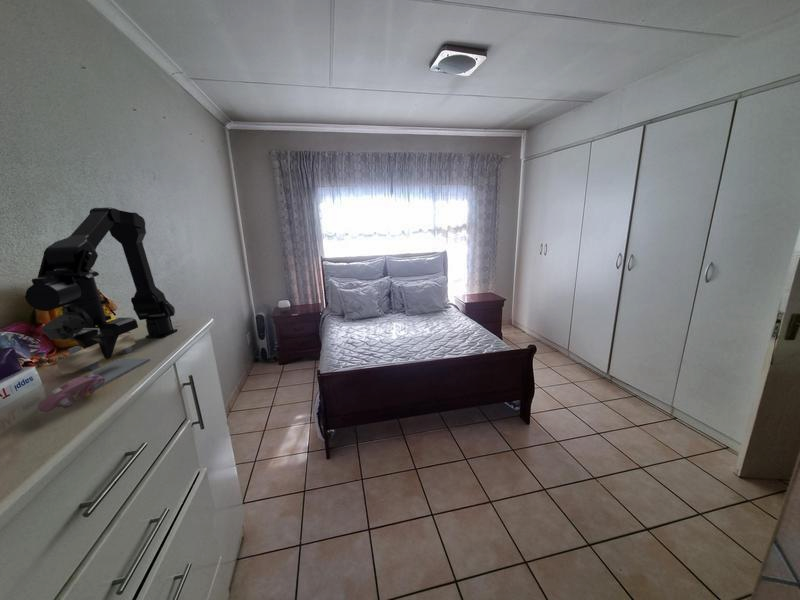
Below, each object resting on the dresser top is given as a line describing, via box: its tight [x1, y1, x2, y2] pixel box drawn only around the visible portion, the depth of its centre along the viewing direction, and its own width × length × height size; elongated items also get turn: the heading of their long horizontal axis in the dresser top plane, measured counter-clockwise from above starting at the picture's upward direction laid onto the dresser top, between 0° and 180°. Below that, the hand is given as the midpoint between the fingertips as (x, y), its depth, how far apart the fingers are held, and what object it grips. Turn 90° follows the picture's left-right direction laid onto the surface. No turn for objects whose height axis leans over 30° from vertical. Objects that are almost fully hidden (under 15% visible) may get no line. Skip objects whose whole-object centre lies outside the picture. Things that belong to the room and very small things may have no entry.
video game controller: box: [37, 372, 105, 413], centre depth 66 cm, size 10×5×7 cm
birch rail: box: [55, 333, 136, 374], centre depth 78 cm, size 16×3×3 cm, turn 175°
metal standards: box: [67, 331, 134, 371], centre depth 87 cm, size 12×6×6 cm, turn 175°
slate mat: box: [58, 357, 151, 389], centre depth 79 cm, size 16×9×1 cm, turn 175°
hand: (102, 358), depth 78 cm, fingers closed on birch rail, 3 cm apart
